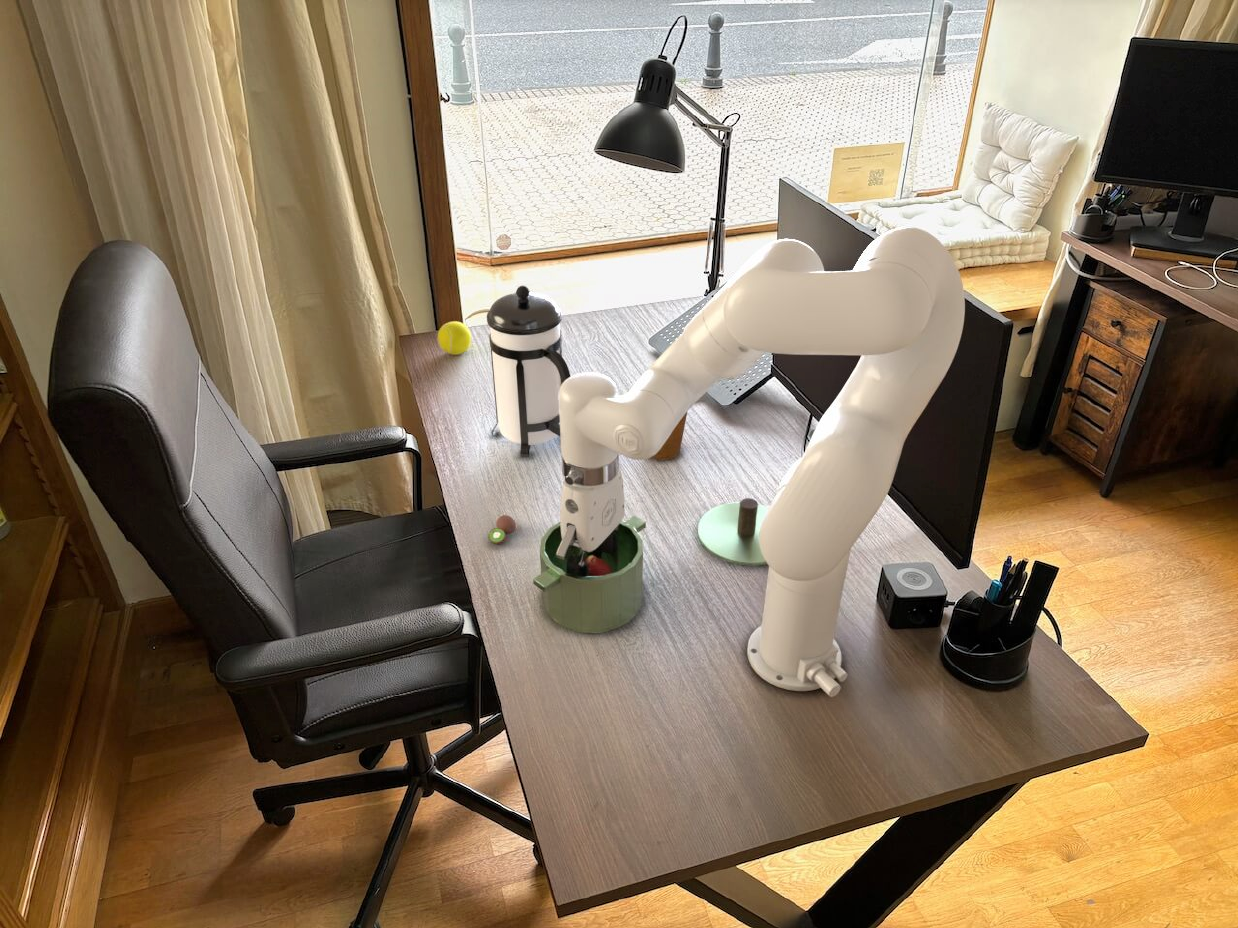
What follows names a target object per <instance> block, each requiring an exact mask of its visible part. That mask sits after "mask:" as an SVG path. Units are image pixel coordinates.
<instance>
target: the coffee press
mask: <svg viewBox="0 0 1238 928" xmlns="http://www.w3.org/2000/svg"><path fill="white" fill-rule="evenodd" d="M562 317H563V313H562V310H561V308H559V306H558V305H557V303H556V301H554V300H553V299H552V298H550V297H549V296H547V295H545V294H541V293H537V292H531V290H530V289H529V288H528V287H527V286H526V285H520V286H518V287H517V288H516V290H515V292H514V293H509V294H506V295H504V296H502V297H500V298H497V300H495V301H494V302H493V303H492V305H491V306H490V309H489V310H488V312H487V313H486V322H487V325H488V326H489V335H488V336H489V347H490V357H491V369H492V379H493V392H494V393H493V394H494V406H495V417H496V424H494V426H493V427H492V430H491V435H492V436H493V437H499V436H500V435H502V437H503V438H505V439H506V440H507V441H509V442H511V443H514V444H517V445H518V444H519V445H520V457H521V458H529V457H530V451H531V450H530V449H531V446H534V445H540V444H541V445H542V444H544V443H547V442H550V441H551V440H553V439H555V438H556V437H560V438H561V436H560V414H559V390H560V387H561V385H562V383H563V382H564V381H565V380H566V379H568V378H569V377H571V376H572V375H571V372H570V369H569V367H568V364H567V362H566V360H565V358H564V357H563V346H562V345H563V344H562V343H563V339H562V336H563V335H562V331H561V322H562V319H563V318H562ZM497 426H498V430H499V431H496V430H495V429H496V428H497Z"/></svg>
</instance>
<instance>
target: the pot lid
mask: <svg viewBox="0 0 1238 928" xmlns="http://www.w3.org/2000/svg"><path fill="white" fill-rule="evenodd" d="M769 507H770V506H767V505H764V504H759V503H758V501H757V500H755V499H754V498H750V497H745V498H742V499H741V500H740V501H736V502H728V503H723V504H720V505H717V506H715V507H713V508H711V509H709V510H708V511H706V512H704V514H703V515H702V516H701V518H700V519H699V521H698V524H697V529H696V530H697V531H696V533H697V538H698V540H699V542H700V544H701V545H702V547H703V548H704V549H705V551H707V552H708V553H709V554H711V555H713V556H714V557H716V558H718V559H720V560H722V561H724V562H727V563H731V564H734V565H740V566H764V565H768V564H767V562H766V561H765V559H764V557H763V555H762V552H761V549H760V544H759V533H760V528H761V525H762V522H763V520H764V518H765V515H766V513H767V511H768V509H769Z"/></svg>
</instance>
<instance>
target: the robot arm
mask: <svg viewBox="0 0 1238 928" xmlns="http://www.w3.org/2000/svg"><path fill="white" fill-rule="evenodd" d="M965 301H966V299H965V291H964V285H963V280H962V277H961V274H960V271H959V268H958V266H957V264H956V262H955V260H954V258H953V257H952V255H951V254H950V252H949V250H948V249H947V248H946V246H944V244H943V243H942V242H941V241H940V240H939V238H937V237H936V236H934V235H932V234H931V233H930V232H928V231H926V230H923V229H921V228H918V227H912V226H905V227H897V228H894V229H891V230H889V231H887V232H885V233H883V234H881V235H880V236H878V237H877V238H876V239H874V240H873V241H872V242H871V243H870V244H869V245H868V246H867V247H866V249H865V250H864V251H863V253H862V254H861V256H860V257H859V258H858V261H857V262H856V264H855V266H854V267H853V269H852V270H845V271H844V270H843V271H842V270H840V271H838V270H837V271H825V267H824V265H823V261H822V260H821V258H820V256H819V254H817V252H816V251H815V250H814V249H813V248H812V247H810V246H809V245H808V244H806V243H804V242H802V241H800V240H796V239H791V238H790V239H789V238H784V239H778V240H777V239H776V240H774V241H772V242H769V243H768V244H766V245H764V246H763V247H761V248H760V249H759V250H757V251H756V252H755V253H754V254H753V255H752V256H751V257H750V258H749V259H748V260H747V261H746V262H745V263H744V265H742V266H741V267H740V269H738V270H737V271H736V273H735V274H734V275H733V276H731V278H730V279H729V280H728V281H727V282H726V283H725V284H724V285H723V286H722V288H720V290H719V291H718V292H717V293H716V294H714V296H713V297H712V298H711V299H710V300H709V301H708V302H707V303H706V304H705V305H704V306H703V308H701V309H700V310H699V311H698V313H697V314H695V316H693V317H692V319H690V321H689V322H688V323H687V324H686V325H685V327H684V328H683V331H682V333H680V335H679V336H678V337H677V338H676V339H675V340H674V341H673V342H672V343H671V344H670V345H669V346H668V347H667V348H666V350H665V351H663V353H662V354H661V355H660V356H658V357H657V359H656V360H655V361H653V363H652V364H651V365H649V367H648V368H647V369H646V370H644V372H643V373H642V374H641V375H640V377H638V378H637V380H636V381H635V382H634V383H633V385H631V387H630V388H629V389H628V390H627V392H626V393H625V394H622V395H619V389H618V387H617V385H616V383H615V382H614V381H613V380H612V379H611V378H610V377H608V376H606V375H604V374H601V373H597V372H582V373H581V372H580V373H576V374H574V375H573V374H572V375H570V376H571V377H569V378H568V379H566V380H565V381H564V382H563V383H562V385H561V387H560V390H559V414H560V436H561V437H560V436H559V437H560V456H561V457H560V459H561V476H562V478H563V481H562V489H561V496H560V497H561V498H560V518H559V519H560V520H559V521H560V522H561V536H562V542H561V544H560V546H559V549H558V551H557V553H556V556H557V557H558V558H559V559H561V560H562V561H565V562H567V573H570V574H573V575H577V576H581V577H589V575H588V563H586V562H585V561H586V557H587V553H588V552H591V551H593V550H595V549H597V550H600V551H602V552H605V553H608V554H611V555H615V554H616V553H617V532H614V531H616V530H617V529H618V526H619V524H620V522H621V521H622V520H624V518H625V507H626V506H625V491H624V490H625V489H624V479H623V474H622V469H621V465H620V461H619V458H620V457H619V455H621V456H623V457H626V458H629V459H632V460H637V461H645V460H648V459H650V458H652V456H654V455H655V454H656V453H657V452H658V451H659V450H660V449H661V448H662V446H663V445H664V443H665V442H666V440H667V439H668V438H669V436H670V435H671V433H672V431H673V430H674V429H675V427H676V426H677V424H678V423H679V421H680V420H681V419H682V417H683V416H684V415H685V413H686V412H687V413H688V411H689V410H690V409H691V408H692V407H693V405H695V404H696V403H697V402H698V401H699V400H700V399H701V398H702V397H703V396H704V395H705V394H706V393H707V392H708V391H709V390H710V389H711V388H712V387H713V386H715V384H717V383H718V382H719V381H720V380H722V379H723V380H735V379H737V378H740V377H741V376H742V375H744V374H745V373H746V372H747V371H748V370H749V369H750V368H752V366H753V365H754V364H756V363H757V361H759V360H760V359H761V358H762V357H763V356H764V355H765V354H766V353H768V354H776V355H777V354H779V355H795V356H797V355H798V356H799V355H800V356H860V358H859V360H858V362H857V364H856V366H855V368H854V369H853V371H852V373H851V374H850V376H849V378H848V379H847V381H846V382H845V384H844V385H843V387H842V389H841V390H840V392H839V393H838V395H837V396H836V397H835V399H834V400H833V402H832V403H831V404H830V406H829V407H828V408H827V409H826V411H825V412H824V413H823V415H822V417H821V418H820V419H819V421H818V423H817V424H816V427H815V429H814V430H813V433H812V435H811V438H810V439H809V442H808V443H807V446H806V448H805V451H804V452H803V454H802V456H801V457H800V458H799V459H797V460H796V461H795V462H794V463H792V465H790V467H788V469H787V470H786V472H785V473H784V475H783V477H782V478H781V481H780V483H779V485H778V487H777V489H776V491H775V493H774V495H773V498H772V500H771V503H770V505H769V506H768V507H769V509H768V511H767V513H766V515H765V518H764V520H763V522H762V525H761V528H760V533H759V544H760V549H761V552H762V555H763V557H764V559H765V561H766V562H767V564H766V565H768V573H767V581H766V589H765V597H764V605H763V614H762V620H761V621H762V622H761V625H759V626H758V627H757V628H756V629H755V630H754V631H753V632H752V634H751V635H750V637H749V639H748V642H747V651H746V654H747V659H748V662H749V664H750V666H751V668H752V669H753V670H754V672H755V673H756V674H757V676H759V677H760V678H761V679H762V680H764V681H766V682H767V683H769V684H771V685H773V686H775V687H777V688H780V689H784V690H787V691H794V692H808V691H809V692H810V691H815V690H818V689H821V690H823V692H825V694H826V695H828V696H829V697H830V698H833V697H835V696H837V695H838V694H839V692H840V691H841V689H842V687H841V685H840V683H838V682H841V683H842V682H844V681H845V680H847V678H848V673H847V672H846V671H845V670H844V669H843V668H842V662H843V657H842V651H841V648H840V646H839V643H838V642H837V640H836V639H835V633H836V628H837V624H838V623H837V622H838V619H839V612H840V607H841V601H842V596H843V591H844V586H845V580H846V576H847V571H848V567H849V566H848V565H849V560H850V555H851V552H852V551H851V550H852V547H853V546H854V545H855V544H856V542H857V541H858V539H859V538H860V536H861V535H862V534H863V532H864V531H865V530H866V528H867V526H868V525H869V524H870V523H871V521H872V519H874V517H875V516H876V514H877V512H878V511H879V509H880V508H881V506H882V505H883V503H884V501H885V499H886V498H887V496H888V494H889V491H890V489H891V486H892V484H893V481H894V477H895V474H896V471H897V469H898V464H899V461H900V458H901V455H902V452H903V451H902V450H903V447H904V444H905V442H906V439H907V438H908V435H909V434H910V432H911V430H912V429H913V428H914V426H915V424H916V422H917V421H918V420H919V418H920V416H921V415H922V413H923V412H924V410H925V409H926V408H927V406H928V404H929V403H930V401H931V399H932V397H933V396H934V394H935V392H936V391H937V390H938V388H939V386H940V385H941V383H942V382H943V380H944V378H945V377H946V375H947V372H948V371H949V369H950V367H951V365H952V363H953V361H954V359H955V356H956V354H957V350H958V348H959V345H960V341H961V339H962V334H963V330H964V323H965V313H966V302H965ZM576 537H577V540H578V541H577V540H575V539H576ZM574 546H575V547H578V548H581V552H580V556H579V557H577V556H575V555H572V553H573V549H574ZM835 679H837V680H838V682H837V681H836V680H835Z"/></svg>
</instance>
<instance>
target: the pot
mask: <svg viewBox="0 0 1238 928" xmlns="http://www.w3.org/2000/svg"><path fill="white" fill-rule="evenodd" d="M646 524H647V522H646V521H644V520H642V519H641V518H639V517H638V516H636V515H632V516H631V517H629V518H628V519H626V520H624V519H622V521H621V522H620V524H619V526H618V529H617V530H616V531H614V532H617V553H616V554H615V555H611V554H608V553H605V552H602V551H600V550H597V549H595V550H593V551H591V552H588V553H587V557H586V558H588V556H591V555H594V556H595V557H596V558H599V559H601V560H603V561H605V562H606V563H607V564H608V565H609V567H610V568H611V572H612V573H611V574H608V575H604V576H601V577H581V576H577V575H573V574H570V573H567V562H565V561H562V560H561V559H559V558H558V557H557V556H556V553H557V551H558V549H559V546H560V544H561V542H562V536H561V521H560V522H557V523H556V524H553V525H552V526H551V527H549V528H548V529H547V531H546V532H545V534H544V535H543V536H542V538H541V539H540V544H539V545H540V546H539V561H540V563H539V564H540V574H539V575H537V576H535V577H534V578H532V582H533V585H534V586H536V587H537V588H538V589H539V590H541V593H542V594H541V595H542V604H543V607H544V609H545V612H546V613H547V615H548V616H549V618H550V619H551V620H552V621H553V622H555V623H556V624H557V625H559V626H561V627H562V628H564V629H566V630H569V631H573V632H577V633H581V634H583V633H584V634H601V633H607V632H612V631H614V630H617V629H619V628H621V627H623V626H625V625H626V624H628V623H629V622H631V621H632V620H633V619H634V618H635V617H636V615H637V614H638V612H639V611H640V609H641V606H642V603H643V577H644V575H643V574H644V573H643V572H644V570H643V569H644V541H643V540H644V539H643V538H642V537H641V535H640V532H642V531H643V530H644V529H646V528H647V525H646ZM575 540H577V537H576V539H575ZM577 541H578V540H577ZM580 552H581V548H578V547H575V546H574V549H573V553H572V555H575V556H577V557H579V556H580Z"/></svg>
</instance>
